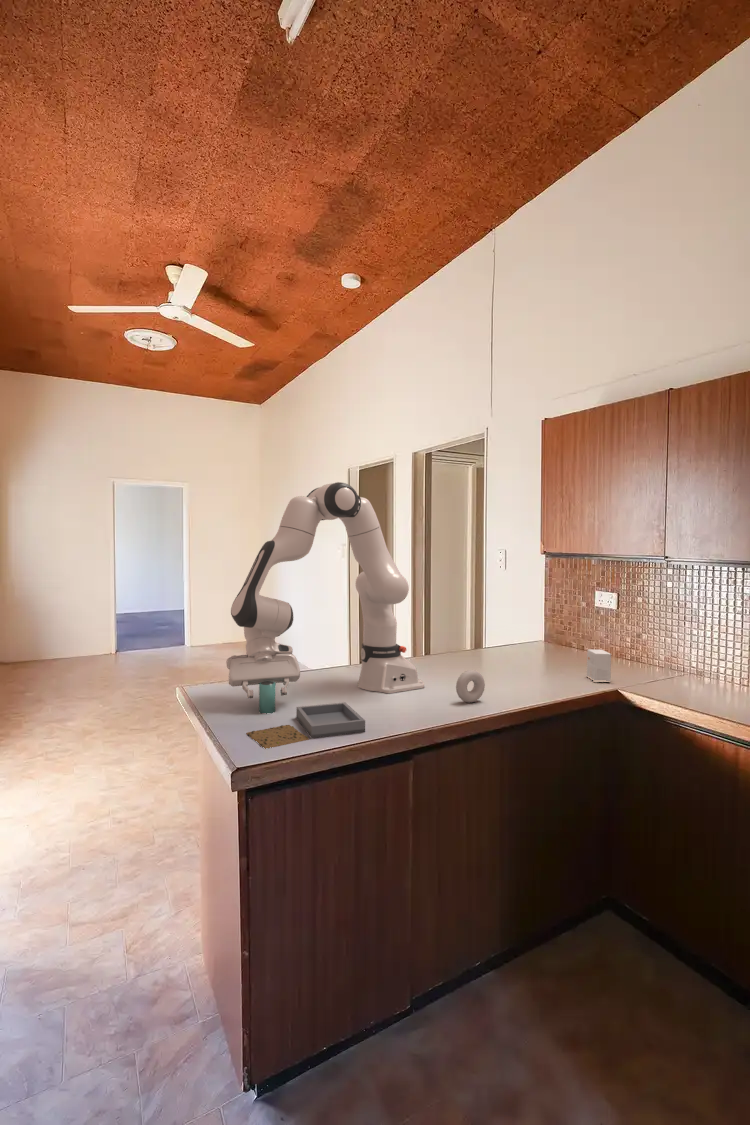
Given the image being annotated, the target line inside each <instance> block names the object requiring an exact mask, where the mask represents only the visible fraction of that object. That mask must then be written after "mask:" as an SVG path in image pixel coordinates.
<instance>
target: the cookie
mask: <svg viewBox="0 0 750 1125" xmlns="http://www.w3.org/2000/svg"><path fill="white" fill-rule="evenodd" d="M246 735H247V736H248V735H249V736H250V737H249V736H248V737H249V738H251V739H252V740H253V739H254V740H255V741H257V742H258V743H259V744H260V745H261V746H262V748H263V747H264V748H265V749H264V748H263V749H264V750H267V749H266V748H268V749H272V747H273V748H277V747H281V746H286V745H290V744H291V745H292V744H295V743H300V742H305V741H309V740H310V738H309V736H308V735H305V734H304V733H302V732H300V731H299V730H297V728H295V727H294V726H292V725H291V724H285V725H279V726H273V727H269V728H264V729H259V730H252V731H248V732H246ZM254 740H253V741H254ZM255 741H254V742H255ZM257 742H256V743H257ZM258 743H257V744H258ZM259 744H258V745H259ZM260 745H259V746H260ZM261 746H260V747H261ZM270 747H271V748H270Z"/></svg>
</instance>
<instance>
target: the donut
mask: <svg viewBox="0 0 750 1125" xmlns="http://www.w3.org/2000/svg"><path fill="white" fill-rule="evenodd" d="M471 682H473V687H472V689H471V690H468V685H469V683H471ZM485 686H486V683H485V679H484V676H483V675H482V673H480V672H479V671H478V670H476V669H467V670H465V671H464V672H462V673H461V674H460V675H459V677H458V678H457V681H456V686H455V690H456V691H455V692H456V694H457V696H458V698H459V699H460V700H461V701H463V702H465V703H470V702H471V703H474V702H476V701H477V702H478V700H479V699H480V698H481V697H482V696H483V694H484V692H485Z"/></svg>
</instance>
